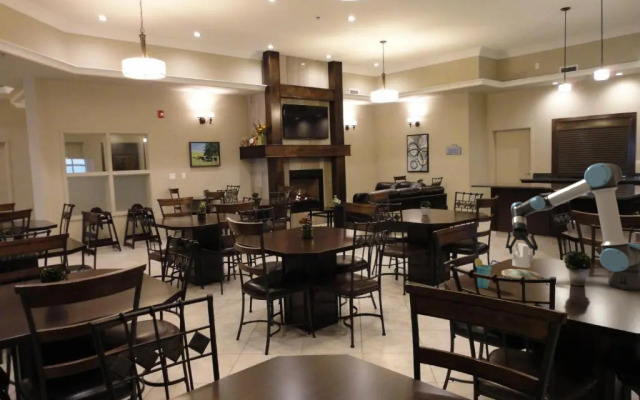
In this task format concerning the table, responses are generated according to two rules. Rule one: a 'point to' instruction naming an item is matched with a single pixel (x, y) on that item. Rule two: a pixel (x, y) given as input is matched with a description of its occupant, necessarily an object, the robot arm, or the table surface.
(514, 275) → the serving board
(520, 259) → the base with upright slab
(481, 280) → the cup
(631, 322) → the table surface
